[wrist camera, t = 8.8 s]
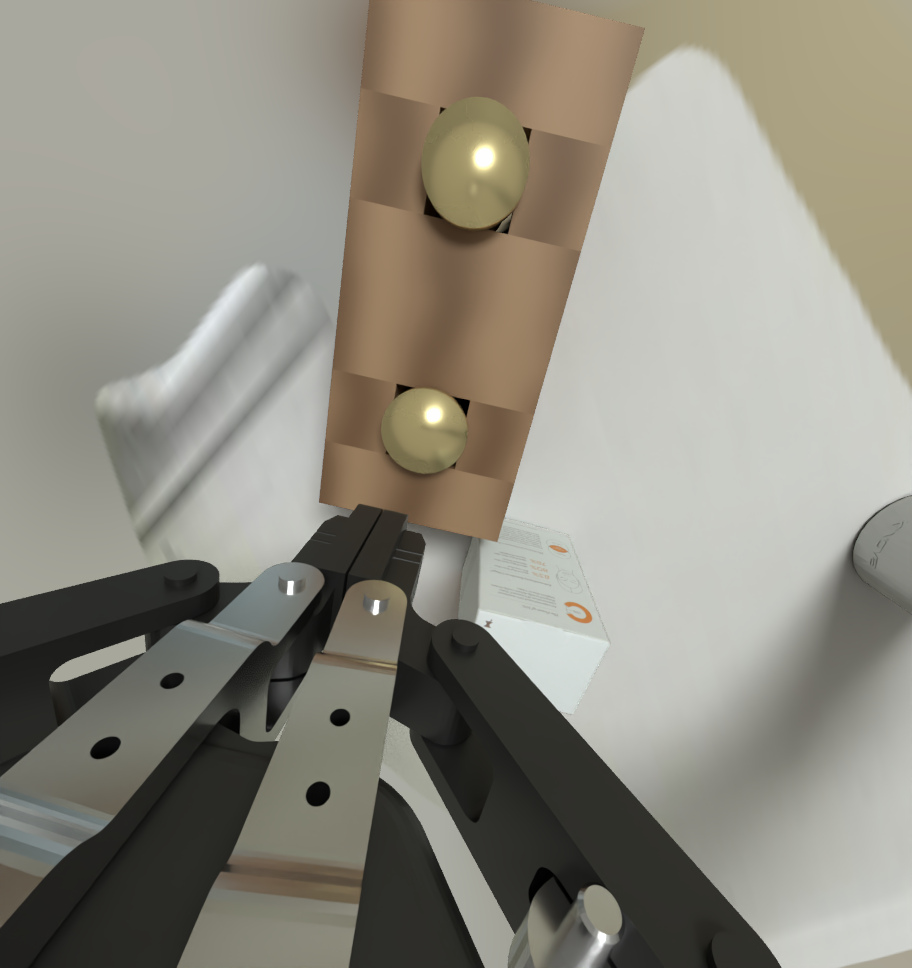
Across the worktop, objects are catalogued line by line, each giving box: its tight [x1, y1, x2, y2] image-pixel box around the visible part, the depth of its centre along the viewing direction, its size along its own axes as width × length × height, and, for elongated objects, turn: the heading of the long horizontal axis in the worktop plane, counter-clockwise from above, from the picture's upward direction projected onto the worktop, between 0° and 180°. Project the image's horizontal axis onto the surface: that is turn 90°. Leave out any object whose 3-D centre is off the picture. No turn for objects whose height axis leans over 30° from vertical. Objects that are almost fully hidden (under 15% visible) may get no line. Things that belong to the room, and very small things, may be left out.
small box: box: [458, 518, 611, 715], centre depth 31 cm, size 8×6×13 cm
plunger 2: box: [421, 97, 530, 231], centre depth 23 cm, size 5×5×8 cm
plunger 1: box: [381, 386, 468, 474], centre depth 28 cm, size 5×5×8 cm
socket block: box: [319, 0, 645, 542], centre depth 27 cm, size 12×26×8 cm, turn 168°
